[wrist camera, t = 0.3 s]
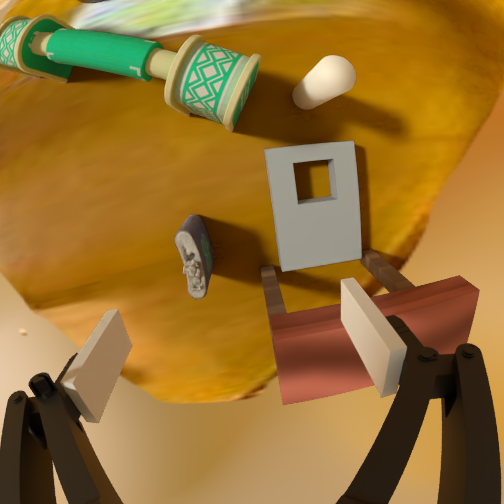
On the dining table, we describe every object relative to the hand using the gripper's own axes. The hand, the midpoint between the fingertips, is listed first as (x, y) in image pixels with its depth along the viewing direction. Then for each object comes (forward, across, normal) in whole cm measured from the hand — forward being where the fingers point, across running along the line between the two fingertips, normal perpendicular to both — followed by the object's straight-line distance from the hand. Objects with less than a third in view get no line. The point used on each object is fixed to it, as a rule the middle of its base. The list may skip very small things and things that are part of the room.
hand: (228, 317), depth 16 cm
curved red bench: (+27, +12, -7) cm, 30 cm away
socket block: (+27, +11, 0) cm, 30 cm away
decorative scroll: (+28, -12, +24) cm, 39 cm away
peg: (+27, +12, +15) cm, 34 cm away
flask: (+28, -6, -4) cm, 28 cm away
